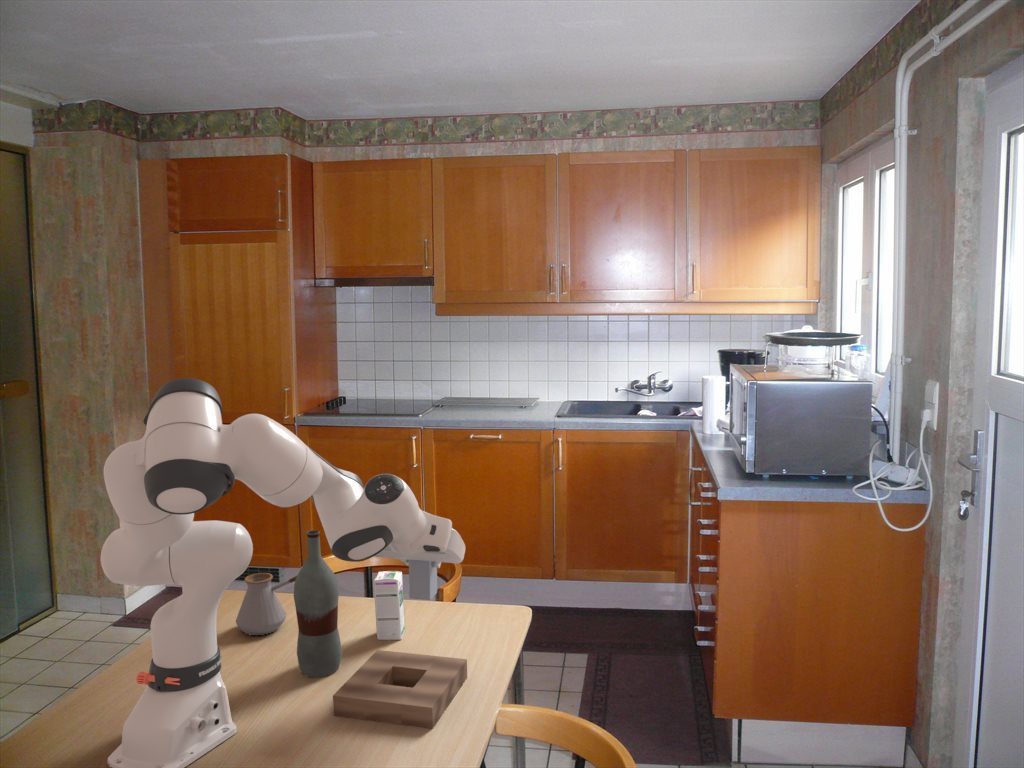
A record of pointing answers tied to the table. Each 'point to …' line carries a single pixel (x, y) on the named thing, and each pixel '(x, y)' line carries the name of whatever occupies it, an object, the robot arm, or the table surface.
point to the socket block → (401, 688)
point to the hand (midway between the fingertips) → (423, 563)
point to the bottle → (317, 613)
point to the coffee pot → (261, 606)
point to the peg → (422, 580)
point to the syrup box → (389, 605)
